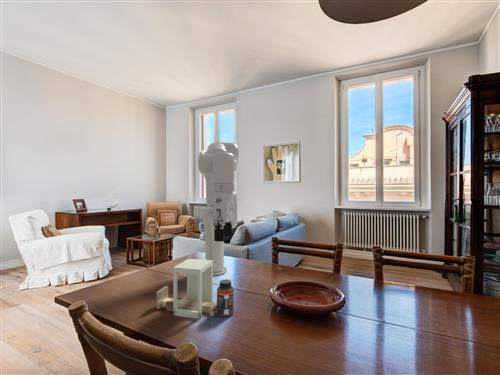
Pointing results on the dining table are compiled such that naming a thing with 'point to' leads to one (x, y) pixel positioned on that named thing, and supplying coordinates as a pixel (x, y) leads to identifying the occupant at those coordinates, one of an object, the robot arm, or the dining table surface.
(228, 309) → the supplement bottle
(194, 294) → the tunnel
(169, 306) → the guide
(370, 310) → the dining table surface
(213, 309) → the rod
